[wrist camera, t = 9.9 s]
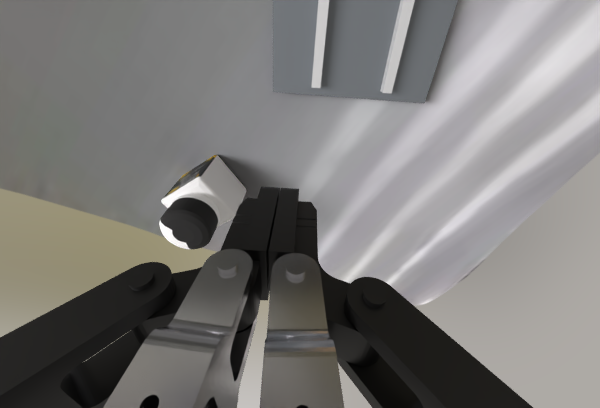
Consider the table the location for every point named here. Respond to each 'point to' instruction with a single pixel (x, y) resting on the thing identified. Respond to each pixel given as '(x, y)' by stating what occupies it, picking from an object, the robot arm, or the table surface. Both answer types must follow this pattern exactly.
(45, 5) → the table surface
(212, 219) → the medicine bottle
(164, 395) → the robot arm
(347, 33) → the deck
